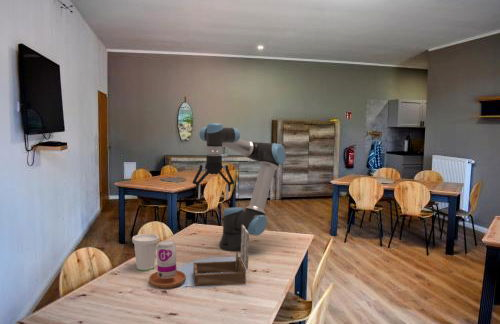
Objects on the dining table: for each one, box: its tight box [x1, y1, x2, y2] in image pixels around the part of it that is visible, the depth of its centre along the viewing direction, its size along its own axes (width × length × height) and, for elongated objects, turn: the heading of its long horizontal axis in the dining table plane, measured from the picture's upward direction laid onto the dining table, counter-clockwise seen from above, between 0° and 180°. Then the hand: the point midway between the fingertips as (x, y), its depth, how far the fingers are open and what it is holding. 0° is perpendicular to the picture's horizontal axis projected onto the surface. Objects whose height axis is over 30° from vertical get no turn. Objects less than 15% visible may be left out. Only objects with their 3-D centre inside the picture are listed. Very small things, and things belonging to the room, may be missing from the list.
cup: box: [131, 233, 160, 272], centre depth 182 cm, size 12×12×15 cm
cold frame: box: [192, 225, 250, 287], centre depth 172 cm, size 15×23×23 cm, turn 101°
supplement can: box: [156, 240, 177, 279], centre depth 166 cm, size 8×8×15 cm
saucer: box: [148, 270, 187, 289], centre depth 167 cm, size 16×16×3 cm
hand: (213, 198), depth 184 cm, fingers open, 13 cm apart
